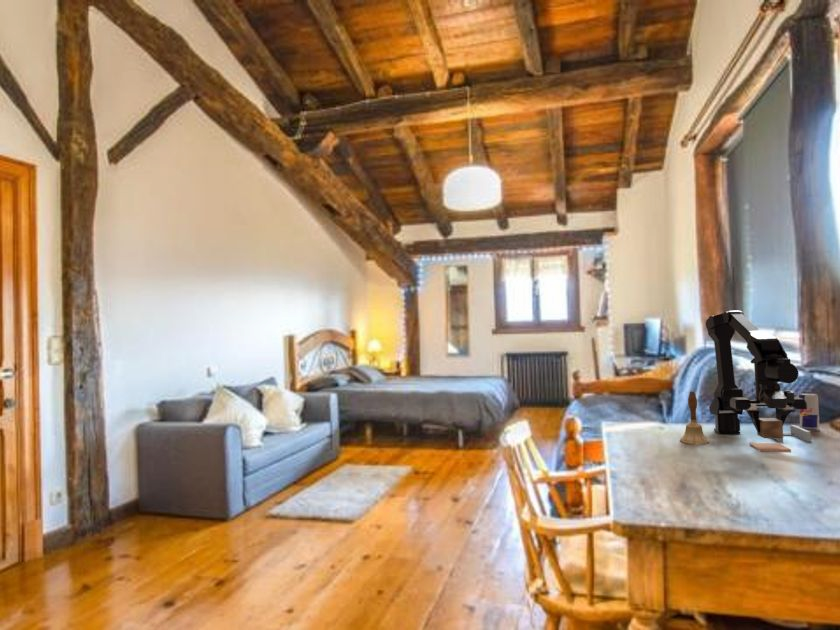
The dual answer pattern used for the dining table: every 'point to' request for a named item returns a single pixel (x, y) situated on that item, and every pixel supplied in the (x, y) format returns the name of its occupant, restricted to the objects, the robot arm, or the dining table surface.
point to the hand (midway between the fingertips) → (768, 432)
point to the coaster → (770, 447)
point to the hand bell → (693, 425)
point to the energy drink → (809, 412)
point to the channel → (797, 433)
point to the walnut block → (770, 428)
